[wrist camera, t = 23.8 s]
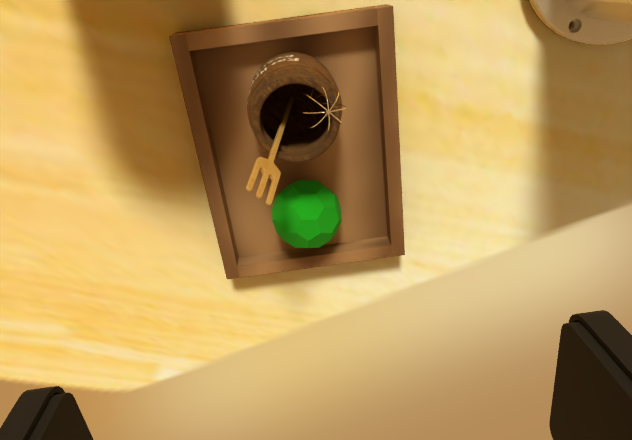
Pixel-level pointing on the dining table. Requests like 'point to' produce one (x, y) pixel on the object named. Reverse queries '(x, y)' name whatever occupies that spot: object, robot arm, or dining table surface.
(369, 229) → the tray
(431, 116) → the dining table surface
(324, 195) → the polyhedron
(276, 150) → the utensil holder
